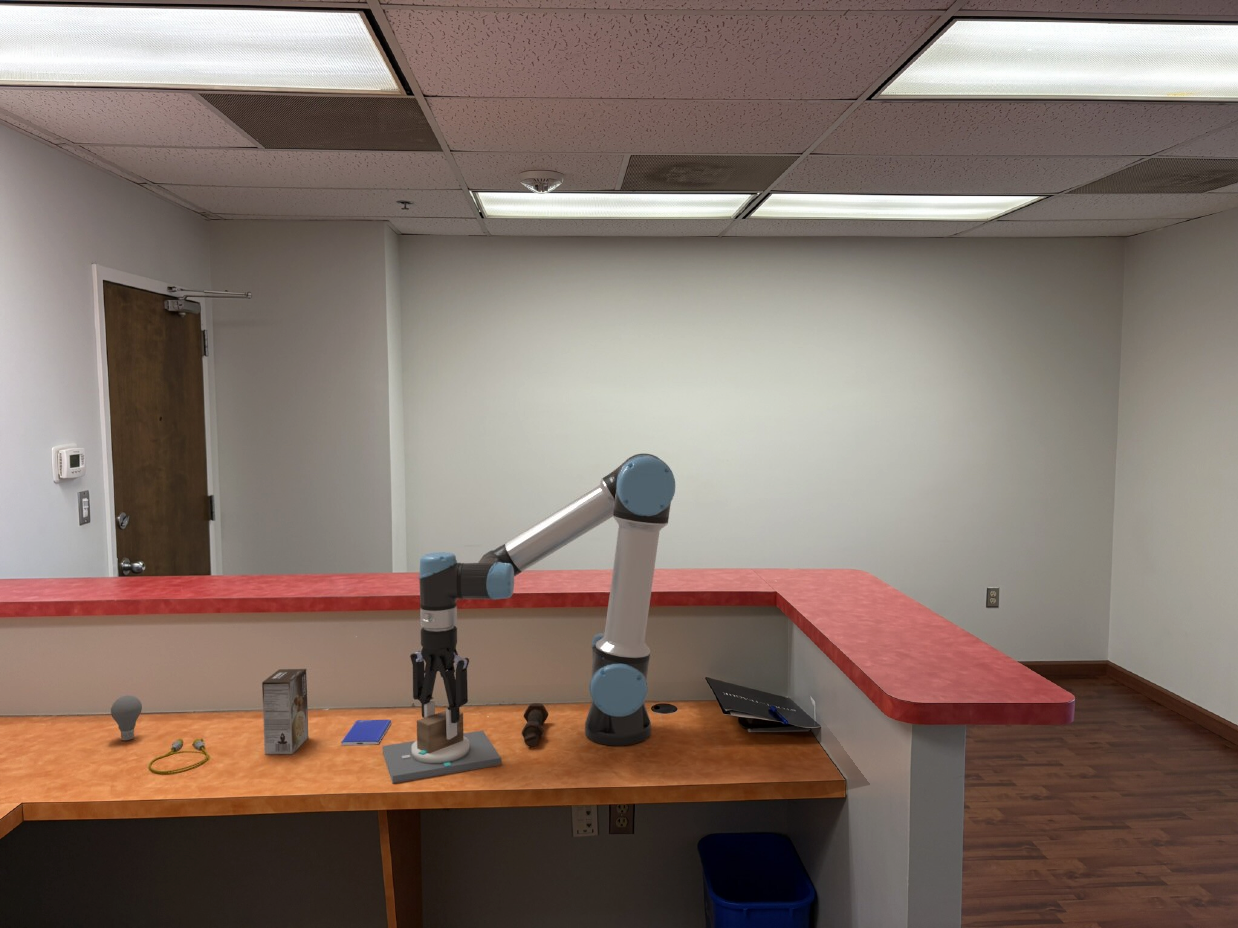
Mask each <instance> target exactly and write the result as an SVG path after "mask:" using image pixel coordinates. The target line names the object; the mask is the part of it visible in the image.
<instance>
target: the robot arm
mask: <svg viewBox="0 0 1238 928" xmlns="http://www.w3.org/2000/svg"><path fill="white" fill-rule="evenodd" d="M600 479H601V480H600V482H599V485H598V486H595V487H594V488H593V489H591V490H589V491H587V492H586V493H584V494H583V495H581V496H580V497H578V498H576V499H574V500H573V501H572V502H569V503H568V504H566V505H565V506H563V507H561V508H560V509H558V510H556V511H555V512H553V513H552V514H550V515H548V516H547V517H545V518H544V519H542V520H540V521H539V522H537V523H536V524H534V525H532V526H531V527H529V528H527V529H526V530H524V531H522V532H521V533H519V534H518V535H516V536H515V537H513V538H511V539H509V540H507V541H506V542H505V543H504V544H502V545H499V547H497V548H495V549H492V550H490V551H488V552H486V553H485V554H483V555H482V556H481V557H480V560H479V561H478V562H466V563H465V562H458V560H457V557H456V555H455V553H453V552H445V551H440V552H438V551H437V552H436V551H435V552H430V553H426V554H423V555H422V556H421V558H420V559H419V576H418V581H419V598H420V599H419V600H420V601H419V602H420V607H419V608H420V614H419V615H420V618H419V619H420V626H421V627H422V628H421V629H420V645H421V647H422V648H421V650H418V651H416V652H413V653H411V654H410V656H409V658H410V661H411V664H412V698H413V699H414V700H417V701H419V702H420V704H421V717H422V719H423V718H426V717H429V716H431V715H434V714H436V701H435V700H433V699H434V697H433V694H434V689H435V683H436V677H437V674H438V672H439V674H440V677H441V678H442V680H443V681H442V682H443V685H444V688H445V693H446V698H447V701H448V707H446V708H445V711H446V735H447V739H449V740H450V739H451V738H453V737H455V736H456V735H457V722H458V721H459V719H460V715H459V714H460V712H461V710H460V707H461V708H462V706H464V705H466V704H467V703H468V700H469V698H468V696H469V695H468V692H469V691H468V666H469V663H470V659H469V658H468V657H465V658H463V657H461V656H460V655H459V653H458V651H457V643H458V627H456V625H457V624H458V613H457V612H458V607H457V606H458V605H457V600H495V601H496V600H500V599H503V600H504V599H505V600H506V599H510V598H511V597H512V596H513V594H514V590H515V577H516V576H518V575H519V574H521V573H523V572H524V571H525V570H527V569H529V568H530V567H532V566H534V565H536V564H537V563H539V562H540V561H542V560H543V559H545V558H547V557H549V556H550V555H552V554H554V553H555V552H557V551H558V550H560V549H562V548H563V547H566V546H567V545H569V544H570V543H572V542H573V541H575V540H577V539H579V537H581V536H583V535H585V534H586V533H588V532H590V531H591V530H593V529H594V528H597V527H598V526H600V525H601V524H604V522H606V521H608V520H610V519H611V518H613V519H614V520H615V521H616V523H617V524H618V531H617V537H616V544H615V551H614V552H615V553H614V558H613V559H614V560H613V569H612V575H611V581H610V589H609V590H610V591H609V597H608V604H607V610H606V613H607V614H606V621H605V627H604V628H605V629H604V632H603V633H602V632H601V633H597V634H595V635H594V636H593V638H592V643H591V649H592V656H591V657H592V658H591V659H592V662H591V676H590V677H591V678H590V683H589V694H590V697H591V699H592V700H591V703H590V707H589V710H588V713H587V716H586V719H585V722H584V723H585V724H584V734H585V737H587V739H589V740H590V741H592V742H593V743H596V744H601V745H605V746H614V747H615V746H617V747H618V746H621V747H622V746H631V745H635V744H640V743H642V742H644V741H646V740H647V739H649V738H650V737H651V735H652V722H651V719H650V717H649V713H648V710H647V706H646V703H645V700H646V698H647V695H648V691H649V687H648V681H647V680H648V672H649V665H650V657H651V649H650V648H649V646H648V645H647V643H646V642H645V640H646V633H647V628H648V627H647V626H648V618H649V612H650V602H651V596H652V588H653V582H654V575H655V574H654V573H655V567H656V560H657V551H658V543H659V537H660V532H661V531H662V530H663V528H665V527H666V526H667V525H668V524H669V518H670V511H671V506H672V505H671V503H672V500H673V499H674V496H675V493H676V480H675V479H676V478H675V476H674V472H673V471H672V469H671V467H670V466H669V465H668V464H667V463H666V462H665V461H664V460H662V459H660V458H659V457H658V456H656V455H653V454H650V453H637V454H634V455H632V456H630V457H629V458H627V459H626V460H625V461H624V462H622V463H621V464H620V465H619V466H618V467H616V468H615V469H614V470H613V471H611V472H610V473H608V474H607V475H605V476H603V477H602V478H600Z"/></svg>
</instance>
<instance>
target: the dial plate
mask: <svg viewBox="0 0 1238 928" xmlns="http://www.w3.org/2000/svg"><path fill="white" fill-rule="evenodd" d="M463 736H464V737H466V738H467V739H468V740H469V752H468V753H467V754H466V755H465V756H464V757H462V758H460V759H457V760H454V761H451V762H445V763H424V762H420V761H417V760H415V759H414V758H413V757H412V750H411V747H412V744H413V743H414V742H415V741H416V740H412V741H406V742H405V741H404V742H400V743H393V744H387V745H382V755H383V758H384V761H385V764H386V767H387V770H388V774H389V777H390V779H391V783H392V784H397V783H405V782H409V781H416V780H420V779H421V780H422V779H427V778H433V777H437V776H438V777H439V776H444V775H449V774H455V773H460V772H466V771H473V770H479V769H484V768H491V767H497V766H500V765H502V757H501V755H500V754H499V752H498V751H497V750H496V748H495V746H494V744H493V743H492V742H491V740H490V739H489V737H488V736H487V735H486V733H485V731H484V730H478V731H471V732H470V731H469V732H463Z"/></svg>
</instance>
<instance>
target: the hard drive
mask: <svg viewBox="0 0 1238 928" xmlns="http://www.w3.org/2000/svg"><path fill="white" fill-rule="evenodd" d="M391 725H392V719H358V720H357V719H356V720H355V722H354V723H353V725H352V726H351V728H350V729H349V731H348V732H347V733H346V735H345V736H344V737H343V739H342V740H341V742H340V746H341V745H343V746H374V745H375V744H379V745H380V743H381V741H382V740H383V738H384V736H385V735H386V733H387V731H388V729H389V728H390V726H391ZM384 734H385V735H384ZM381 739H382V740H381ZM379 742H380V743H379ZM373 744H374V745H373ZM375 746H376V745H375Z"/></svg>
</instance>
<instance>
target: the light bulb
mask: <svg viewBox="0 0 1238 928" xmlns="http://www.w3.org/2000/svg"><path fill="white" fill-rule="evenodd" d="M142 710H143V704H142V702H141V700H140V699H139V698H137V696H134V695H130V694H129V695H128V694H127V695H123V696H120V697H118V698H117V699H115V701H114V702H113V703H112V705H111V708H110V714H111V717H112V719H113V720H114V722H116V724H117V726H118V730H120V740H122V741H130V740H131V739H134V737H135V727H136V726H137V723H136V722H137V720H138V718H139V717H140V715H141V713H142Z"/></svg>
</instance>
